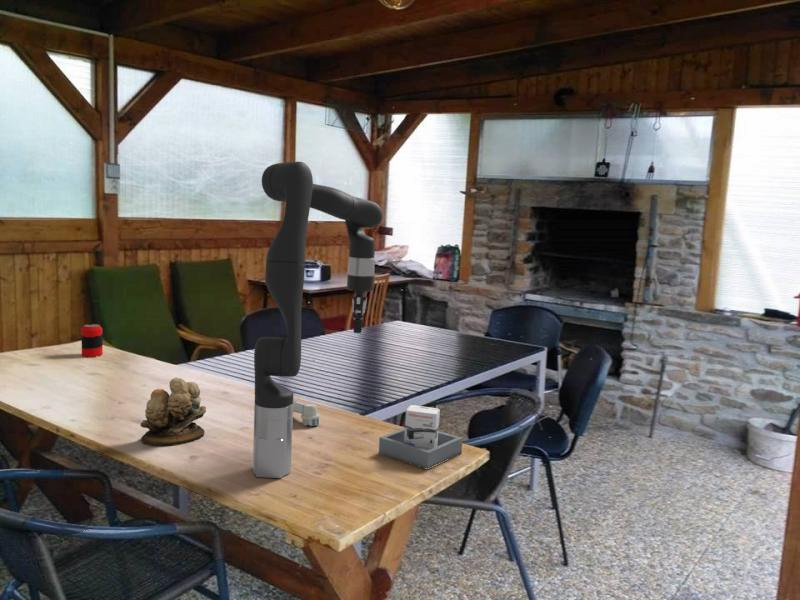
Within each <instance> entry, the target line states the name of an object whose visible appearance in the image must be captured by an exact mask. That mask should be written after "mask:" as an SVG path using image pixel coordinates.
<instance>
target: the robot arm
mask: <svg viewBox="0 0 800 600" xmlns="http://www.w3.org/2000/svg"><path fill="white" fill-rule="evenodd" d="M313 179H314V178H313V173H312V170H311V169H310V167H309V165H308V164H306V162H303V161H289V162H288V161H287V162H279V163H273V164H271V165H269V166H267V167H266V168H265V169H264V171H263V173H262V176H261V186H262V189H263V192H264V193H265V194H266V196H267V197H268V198H270V199H271V200H273V201H276V202H284V203H285V207H284V215H283V219H282V223H281V224H280V227H279V229H278V231H277V233H276V234H275V236H274V238H273V240H272V242H271V243H270V246H269V248H268V250H267V254H266V259H265V261H266V262H265V275H264V281H265V285H266V288H267V290H268V292H269V293H270V295H271V297H272V299H273V301H274V302H275V305H276V306H277V307H278V309H279V312H280V313H281V315H282V318H283V321H284V323H285V327H286V333H287V334H286V335H287V337H275V336H274V337H273V336H272V337H271V336H260V337H259V338H258V339H257V341H256V342H255V345H254V351H253V353H254V354H253V365H254V366H253V367H254V369H253V370H254V407H253V408H254V411H253V412H254V414H253V415H254V416H253V449H252V450H253V451H252V457H253V458H252V473H253V474H255V477H256V478H270V479H271V478H272V479H283V477H284V476H287V475H289V474H290V473H291V472H292V451H293V450H292V447H293V423H294V422H293V417H294V412H293V400H294V392H293V391H292V390H291V389H289V388H288V387H286V386H284V385H281V384H280V383H278V382H276V381H275V380H274V379H273V378H272V377H287V378H288V377H289V378H294V377H297V375H298V373H300V372H299V371H300V368H301V364H302V363H301V361H302V310H303V309H302V307H303V306H302V305H303V295H304V294H303V293H304V283H305V271H306V270H305V269H306V268H305V267H306V244H307V243H306V242H307V233H308V222H309V216H310V209H313V210H316V211H319V212H321V213H324V214H326V215H328V216H329V215H330V216H332V217H335V218H336V219H339V220H343V221H344V222H345V226H346V230H347V235H348V240H349V250H348V254H349V255H348V256H349V257H348V263H347V274H346V275H347V277H346V280H347V281H346V289H347V290H348V291H351V292H355V295H353V296H352V299H351V302H352V312H353V315H352V318H353V334H362V331H363V330H362V329H363V327H364V315H365V312H366V309H367V302H368V301H367V300H368V297H367V296H366V293H367V292H368V293H369V292H372V291H373V290H374V285H375V252H376V251H375V247H376V245H375V244H376V243H375V239H374V238H373V237H371V236H369V235H367V234H366V233H365V230H364V229H365V228H368V229H374V228H376V227H379V225H380V224H381V223H382V221H383V217H384V216H383V210H382V207H380V205H379V204H378V203H376V202H374V201H371V200H368V199H365V198H359V197H356V196H353V195H351V194H349V193H347V192H346V191H342V190H341V189H338V188H335V187H330V186H327V185H322V184H321V185H320V184H316V183H314V180H313Z"/></svg>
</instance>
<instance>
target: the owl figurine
mask: <svg viewBox="0 0 800 600" xmlns="http://www.w3.org/2000/svg"><path fill="white" fill-rule="evenodd" d="M169 390H170V392H171V393H170V394H169V393H168V391H166V390H165V389H164V388H156V389H154V390H153V391H152V392H151V394H150V399H149V400H148V401H147V402H146V408H145V410H144V412H145V414H144V416H145V419H143V420H142V421H141V422H140V427H142V428H144V429H148V431H146V432H145V434H143V435H142V436H141V438H140V441H141V443H142V444H144V445H146V446H149V447H170V446H179V445H184V444H188V443H191V442H195V440H196V441H198V440H200V439H201V437H202V438H203V437H204V435H205V429H204V428H203V427H201V426H200V425H199V424H197V423H196V422H195V421H197V420H199V419H202V417H204V415H205V413H206V412H207V406H205V405H201V401H202V400H201V397H200V395H201V389H200V387H199V385H198V384H197V383H196V382H194V381H188V382H186V381H185V379H183V378H180V377H174V378H172V379H171V380H170V381H169Z"/></svg>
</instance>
